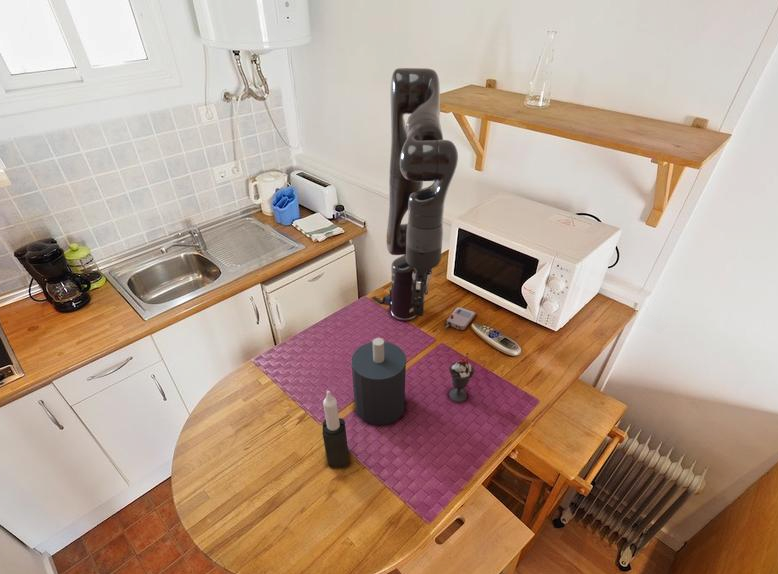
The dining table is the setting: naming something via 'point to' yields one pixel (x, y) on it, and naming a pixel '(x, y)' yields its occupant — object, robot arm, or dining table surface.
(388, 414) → the grey canister with knob
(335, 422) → the candle
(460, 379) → the sundae
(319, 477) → the dining table surface
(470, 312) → the grey handheld device
